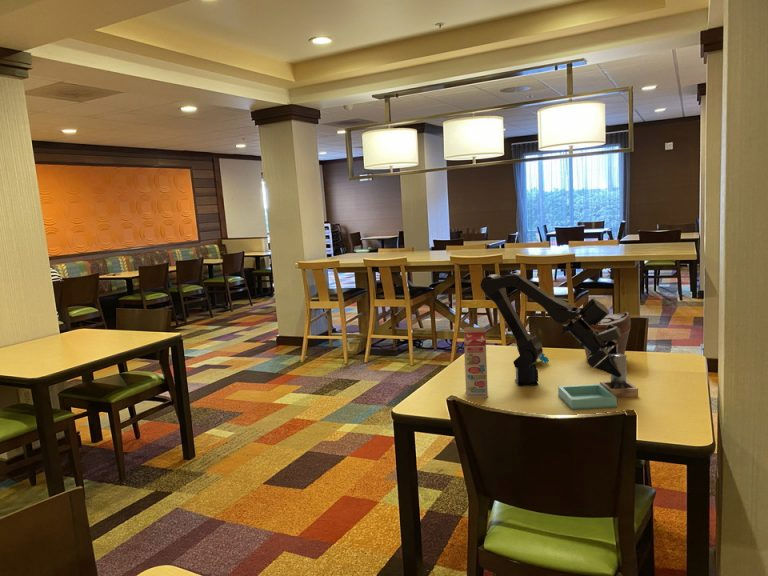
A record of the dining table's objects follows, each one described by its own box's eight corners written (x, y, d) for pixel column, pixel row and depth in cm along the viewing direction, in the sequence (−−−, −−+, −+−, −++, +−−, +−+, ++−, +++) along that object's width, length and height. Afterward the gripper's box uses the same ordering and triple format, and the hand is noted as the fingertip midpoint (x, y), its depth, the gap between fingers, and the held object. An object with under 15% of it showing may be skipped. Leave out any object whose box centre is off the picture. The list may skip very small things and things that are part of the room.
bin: (571, 410, 170) (571, 400, 170) (558, 395, 183) (558, 386, 183) (616, 407, 170) (616, 397, 170) (600, 393, 183) (600, 384, 183)
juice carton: (466, 391, 193) (464, 325, 190) (487, 391, 192) (485, 325, 189) (466, 397, 186) (463, 329, 183) (487, 398, 185) (485, 329, 182)
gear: (554, 361, 216) (535, 344, 215) (545, 373, 215) (525, 356, 214) (541, 358, 227) (522, 341, 226) (531, 370, 226) (513, 353, 225)
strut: (614, 395, 180) (613, 357, 179) (608, 391, 185) (608, 354, 183) (628, 394, 180) (628, 356, 179) (622, 390, 185) (622, 353, 183)
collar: (610, 398, 179) (610, 390, 178) (599, 389, 187) (599, 381, 187) (638, 396, 178) (638, 388, 178) (626, 388, 187) (626, 380, 187)
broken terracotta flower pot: (566, 357, 226) (566, 311, 223) (606, 350, 233) (607, 306, 231) (599, 369, 210) (600, 319, 207) (642, 361, 217) (643, 313, 214)
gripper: (598, 323, 174) (638, 363, 170) (609, 312, 190) (647, 348, 185) (571, 348, 179) (610, 387, 175) (585, 335, 195) (620, 370, 190)
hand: (623, 372), depth 181 cm, fingers open, 9 cm apart
